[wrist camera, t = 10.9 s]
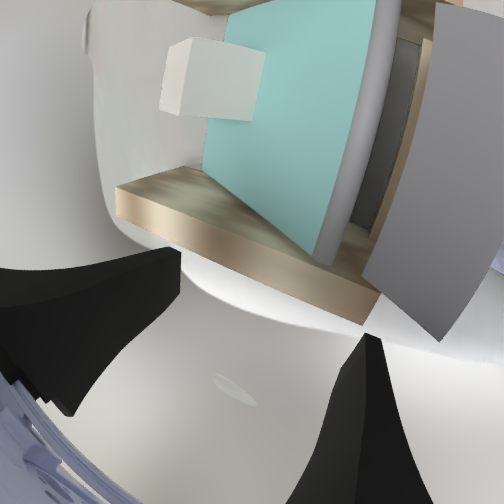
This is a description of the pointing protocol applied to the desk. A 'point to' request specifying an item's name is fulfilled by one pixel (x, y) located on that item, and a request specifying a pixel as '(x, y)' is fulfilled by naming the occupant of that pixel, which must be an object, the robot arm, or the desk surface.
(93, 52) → the desk surface
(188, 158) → the desk surface
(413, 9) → the rail stand
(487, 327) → the desk surface
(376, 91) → the trapdoor
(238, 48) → the gray cube
